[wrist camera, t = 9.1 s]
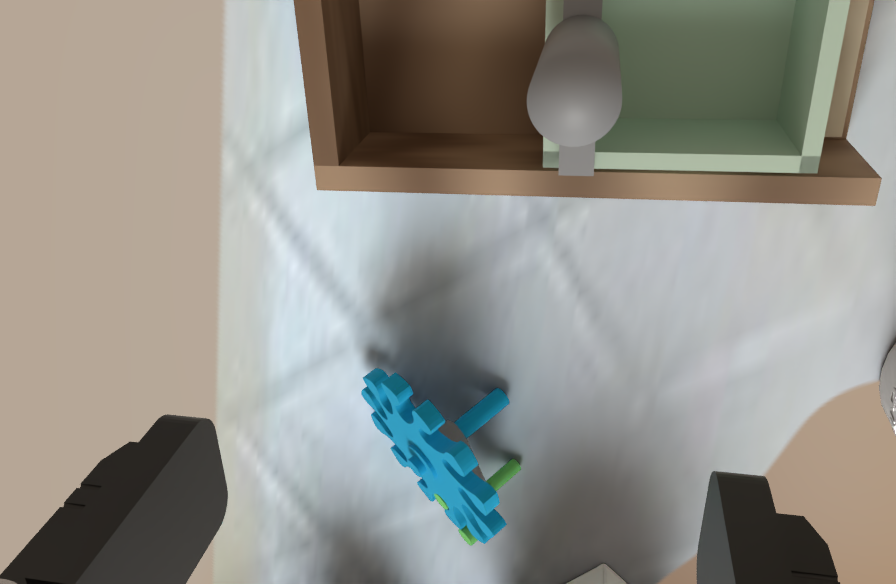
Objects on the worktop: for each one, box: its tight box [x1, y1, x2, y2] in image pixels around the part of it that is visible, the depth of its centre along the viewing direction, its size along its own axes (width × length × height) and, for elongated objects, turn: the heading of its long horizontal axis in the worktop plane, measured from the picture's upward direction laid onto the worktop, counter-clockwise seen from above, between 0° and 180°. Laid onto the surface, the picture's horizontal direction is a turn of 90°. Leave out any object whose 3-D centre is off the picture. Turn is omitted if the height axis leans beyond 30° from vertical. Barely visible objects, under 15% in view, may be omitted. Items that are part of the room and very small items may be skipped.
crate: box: [527, 0, 850, 176], centre depth 24 cm, size 9×8×12 cm
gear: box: [362, 368, 521, 546], centre depth 39 cm, size 11×6×10 cm
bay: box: [294, 0, 882, 206], centre depth 29 cm, size 20×11×5 cm, turn 93°
